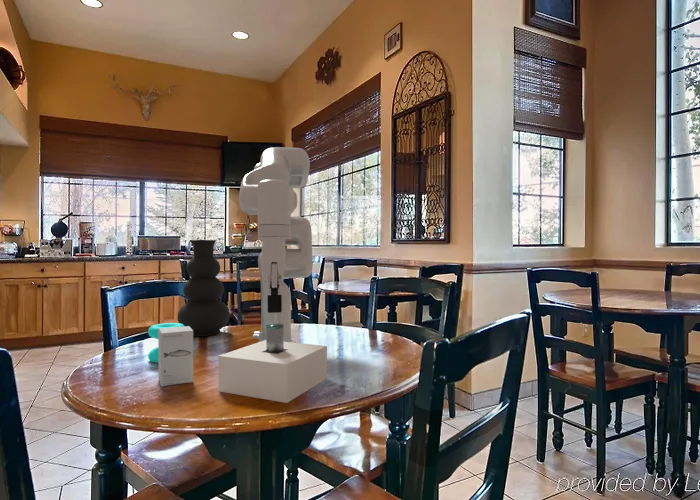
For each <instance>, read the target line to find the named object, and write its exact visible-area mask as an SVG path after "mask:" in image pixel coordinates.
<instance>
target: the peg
mask: <svg viewBox="0 0 700 500" xmlns="http://www.w3.org/2000/svg"><path fill="white" fill-rule="evenodd" d="M281 352H284V325H283V324H268V325H266V353H274V354H279V353H281Z"/></svg>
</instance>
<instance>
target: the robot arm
mask: <svg viewBox="0 0 700 500" xmlns="http://www.w3.org/2000/svg"><path fill="white" fill-rule="evenodd" d="M310 165H311V163H310V157H309V155H308V153H307V151H306V150H305V149H303V148H300V147H282V146H281V147H280V146H276V147H269V148H267V149H265V150H264V151H263V152H262V154H261V155H260V162H259V163H256V165H254V167H253V170H252V171H250V172H249V173H246V174H245V175H244V177H243V178H242V180H241V182H240V188H239V195H238V204H239V205H238V206H239V208H240V210H241V212H243V214H246V215H250V216H256V215H257V240H258V241H262V243H261V252H260V254H259V255H258V258H257V265H258V273H259V280H260V296H261V297H260V300H261V301H260V304H261V305H260V307H261V309H260V313H261V314H260V315H261V318H260V320H261V325H260V326H261V327H260V328H261V330H260V331H254V332H253V334H252V339H255V340H256V339H258V342H261V341H264V340H266V325H268V324H283V325H284V342H292V343H297V342H296V340H294V339H292V295H291V294H292V293H291V290H290V287H288V285H287V284H286V283H285V282H284V280H285V279H302V278H308V277H310V276H311V274H312V272H313V265H314V264H313V262H314V261H313V260H314V259H313V237H312V235H313V234H312V225H311V222H310V220H309V219H308V218H307V217H304V216H291V214H293V213H294V212H295V210H296V209H297V207H298V194H297V192H296V191H295V190H294V189H303V188H305V187H306V186H307V184H308V179H309V175H310V169H311V168H310V167H311V166H310ZM286 246H295V247H297V248H286Z"/></svg>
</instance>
